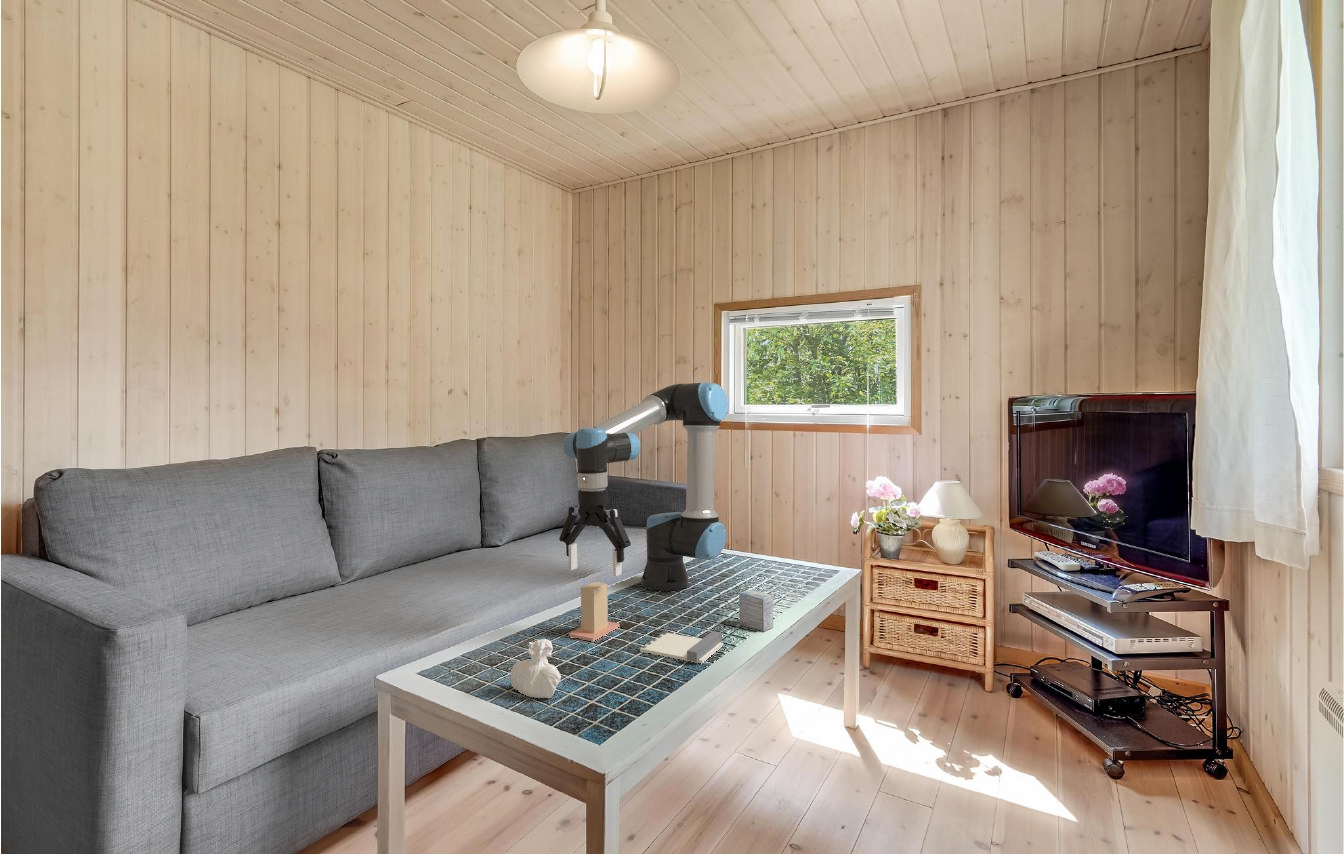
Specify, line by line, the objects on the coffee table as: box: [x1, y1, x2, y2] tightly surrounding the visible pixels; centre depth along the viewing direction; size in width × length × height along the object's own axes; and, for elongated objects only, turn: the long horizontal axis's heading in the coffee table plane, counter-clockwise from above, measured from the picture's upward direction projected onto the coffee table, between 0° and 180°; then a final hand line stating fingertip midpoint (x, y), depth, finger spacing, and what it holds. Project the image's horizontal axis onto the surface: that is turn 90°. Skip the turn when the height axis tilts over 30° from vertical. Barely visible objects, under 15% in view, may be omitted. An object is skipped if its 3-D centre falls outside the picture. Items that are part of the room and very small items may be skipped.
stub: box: [568, 581, 621, 643], centre depth 163 cm, size 7×12×12 cm, turn 152°
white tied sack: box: [509, 638, 562, 699], centre depth 130 cm, size 12×8×11 cm
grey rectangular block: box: [738, 589, 774, 632], centre depth 167 cm, size 8×4×9 cm, turn 47°
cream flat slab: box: [639, 630, 724, 665], centre depth 152 cm, size 16×14×3 cm
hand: (595, 571), depth 163 cm, fingers open, 13 cm apart
